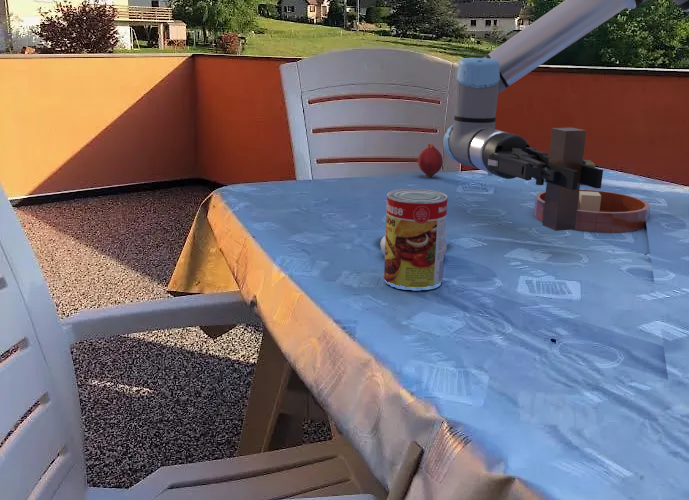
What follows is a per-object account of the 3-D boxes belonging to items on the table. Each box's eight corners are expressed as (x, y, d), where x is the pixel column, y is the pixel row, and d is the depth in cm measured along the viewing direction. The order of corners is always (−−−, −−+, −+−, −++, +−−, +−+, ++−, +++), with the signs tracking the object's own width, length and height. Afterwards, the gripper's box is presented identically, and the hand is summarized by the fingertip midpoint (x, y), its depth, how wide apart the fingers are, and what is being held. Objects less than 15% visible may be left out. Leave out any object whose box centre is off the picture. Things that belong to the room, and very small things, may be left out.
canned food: (384, 271, 100) (387, 187, 96) (441, 273, 99) (446, 189, 96) (382, 290, 92) (385, 200, 89) (443, 293, 92) (449, 202, 88)
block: (596, 209, 136) (598, 192, 135) (599, 214, 132) (601, 195, 131) (577, 208, 136) (579, 190, 135) (579, 213, 133) (581, 194, 132)
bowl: (644, 214, 135) (647, 194, 134) (648, 241, 117) (652, 217, 116) (539, 205, 141) (541, 185, 140) (527, 228, 124) (529, 206, 123)
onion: (422, 173, 171) (423, 140, 169) (445, 176, 169) (447, 142, 167) (413, 177, 166) (415, 143, 164) (437, 180, 164) (439, 145, 162)
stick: (561, 223, 111) (571, 127, 107) (575, 229, 108) (586, 130, 104) (542, 225, 110) (551, 128, 106) (555, 231, 107) (566, 131, 102)
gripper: (539, 173, 126) (630, 202, 105) (456, 177, 121) (535, 208, 100) (543, 130, 124) (638, 151, 103) (459, 133, 119) (541, 155, 98)
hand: (587, 179), depth 102 cm, fingers closed on stick, 3 cm apart
